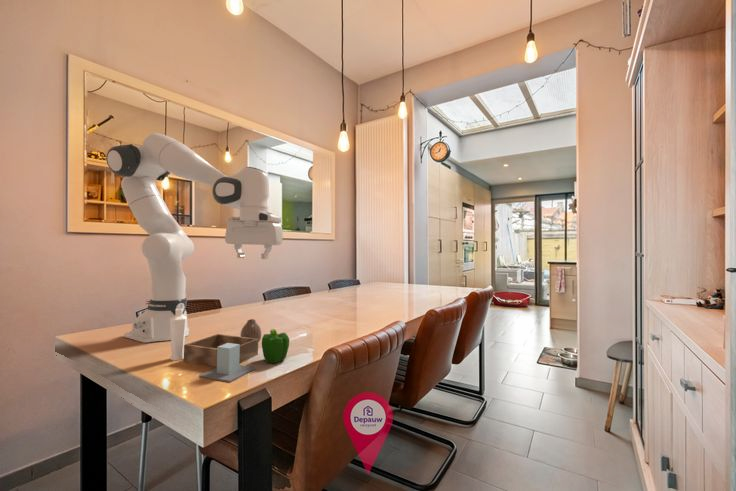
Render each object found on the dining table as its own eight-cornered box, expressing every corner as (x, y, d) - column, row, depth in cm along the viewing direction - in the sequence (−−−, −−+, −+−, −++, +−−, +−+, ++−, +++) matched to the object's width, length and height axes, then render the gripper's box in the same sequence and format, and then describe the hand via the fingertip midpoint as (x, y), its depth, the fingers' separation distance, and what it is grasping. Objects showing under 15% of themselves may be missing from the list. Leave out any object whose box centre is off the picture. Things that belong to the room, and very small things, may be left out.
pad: (199, 376, 86) (199, 375, 86) (226, 364, 95) (226, 363, 95) (230, 382, 83) (230, 380, 83) (255, 368, 92) (255, 367, 92)
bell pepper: (276, 354, 105) (276, 323, 105) (294, 359, 101) (294, 327, 101) (254, 361, 98) (255, 328, 98) (272, 367, 94) (273, 332, 94)
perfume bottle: (189, 357, 100) (191, 309, 100) (174, 361, 96) (176, 311, 96) (181, 354, 102) (183, 307, 103) (166, 358, 99) (168, 309, 99)
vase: (264, 342, 118) (264, 318, 118) (255, 348, 111) (256, 322, 111) (246, 341, 119) (246, 317, 119) (236, 347, 112) (237, 321, 112)
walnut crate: (183, 361, 96) (184, 344, 96) (217, 348, 109) (217, 333, 109) (227, 369, 92) (228, 351, 92) (257, 354, 104) (258, 338, 105)
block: (216, 372, 88) (217, 346, 88) (227, 367, 91) (228, 342, 92) (228, 374, 86) (229, 348, 86) (239, 369, 90) (239, 344, 90)
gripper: (221, 215, 107) (219, 257, 107) (274, 215, 101) (273, 259, 101) (234, 217, 113) (233, 257, 113) (285, 217, 107) (284, 259, 107)
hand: (252, 258), depth 107 cm, fingers open, 8 cm apart
